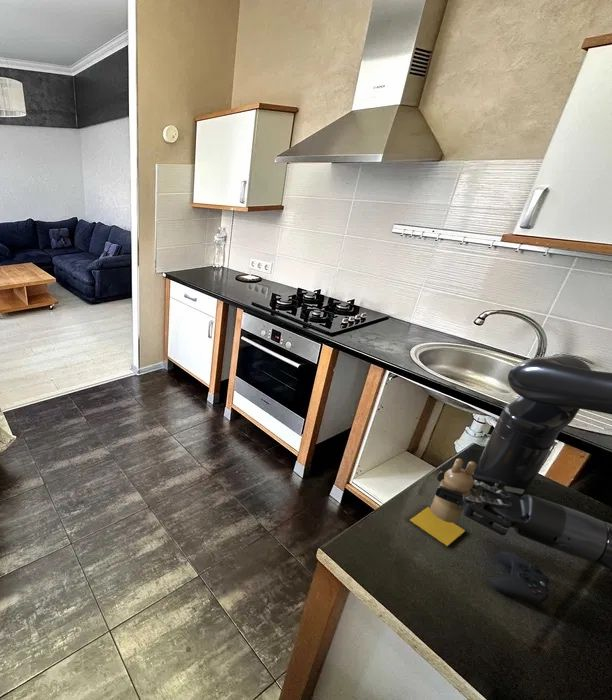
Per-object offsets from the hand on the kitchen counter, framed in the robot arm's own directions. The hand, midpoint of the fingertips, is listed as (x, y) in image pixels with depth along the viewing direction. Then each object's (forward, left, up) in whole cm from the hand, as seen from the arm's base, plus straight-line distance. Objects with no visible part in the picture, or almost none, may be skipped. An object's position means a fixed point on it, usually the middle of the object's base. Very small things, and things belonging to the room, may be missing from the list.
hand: (438, 482), depth 74 cm
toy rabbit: (+1, +3, -6) cm, 7 cm away
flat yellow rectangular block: (+1, +2, -10) cm, 11 cm away
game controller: (+10, +12, -10) cm, 19 cm away
